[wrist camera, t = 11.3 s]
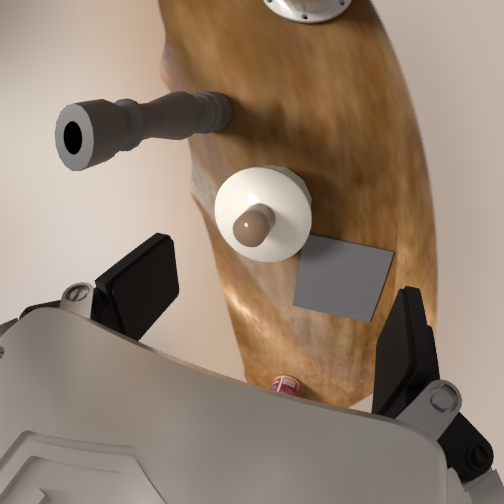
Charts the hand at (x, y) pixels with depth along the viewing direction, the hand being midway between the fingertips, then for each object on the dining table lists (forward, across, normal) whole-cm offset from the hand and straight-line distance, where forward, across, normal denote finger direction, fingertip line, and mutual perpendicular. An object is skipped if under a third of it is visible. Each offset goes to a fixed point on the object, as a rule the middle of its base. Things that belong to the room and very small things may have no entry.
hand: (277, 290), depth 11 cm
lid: (+25, +8, +8) cm, 27 cm away
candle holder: (+31, +18, -5) cm, 36 cm away
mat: (+30, -4, +19) cm, 36 cm away
